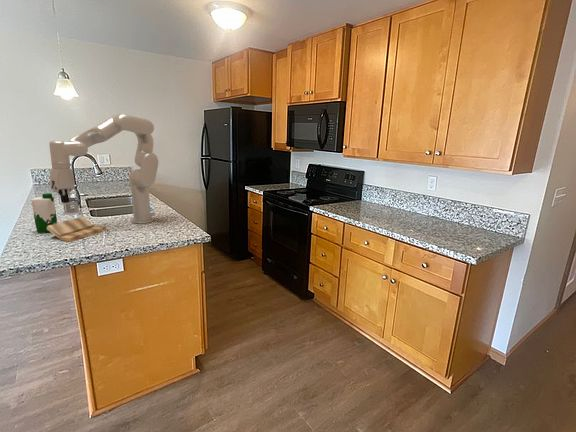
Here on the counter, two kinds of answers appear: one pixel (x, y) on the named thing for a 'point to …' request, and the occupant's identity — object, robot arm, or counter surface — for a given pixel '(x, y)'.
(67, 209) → the french press
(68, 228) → the tan wooden board
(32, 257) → the counter surface
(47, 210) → the milk carton
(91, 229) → the laid floor row
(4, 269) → the counter surface
